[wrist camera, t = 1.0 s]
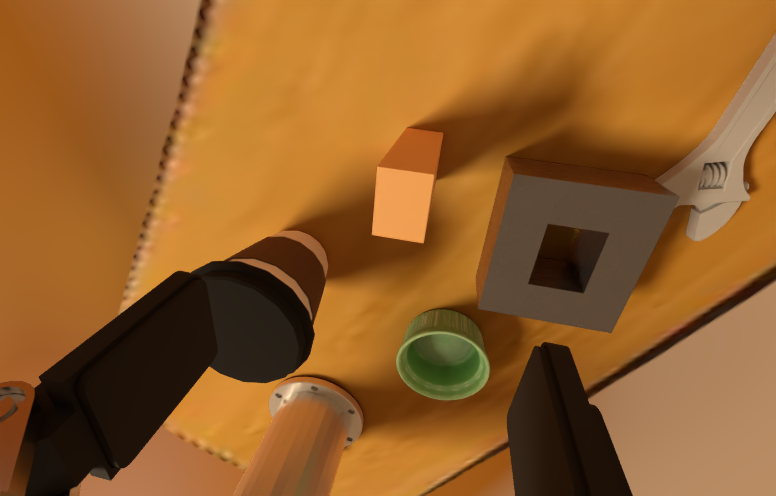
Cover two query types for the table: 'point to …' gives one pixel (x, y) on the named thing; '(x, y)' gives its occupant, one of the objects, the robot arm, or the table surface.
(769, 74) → the adjustable wrench
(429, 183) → the orange square peg
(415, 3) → the table surface
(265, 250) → the coffee cup
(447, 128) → the table surface
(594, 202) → the grey square frame
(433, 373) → the ramekin
